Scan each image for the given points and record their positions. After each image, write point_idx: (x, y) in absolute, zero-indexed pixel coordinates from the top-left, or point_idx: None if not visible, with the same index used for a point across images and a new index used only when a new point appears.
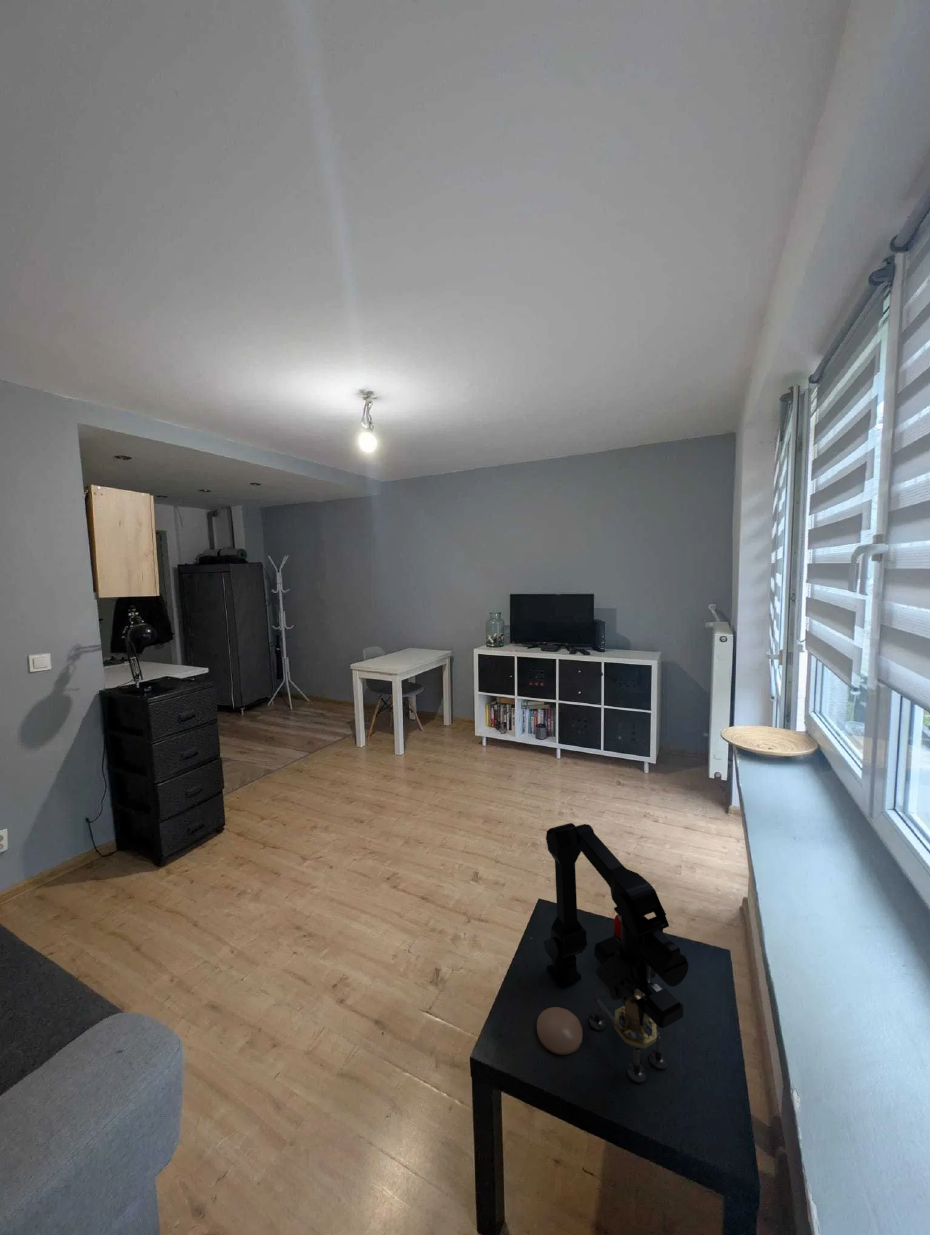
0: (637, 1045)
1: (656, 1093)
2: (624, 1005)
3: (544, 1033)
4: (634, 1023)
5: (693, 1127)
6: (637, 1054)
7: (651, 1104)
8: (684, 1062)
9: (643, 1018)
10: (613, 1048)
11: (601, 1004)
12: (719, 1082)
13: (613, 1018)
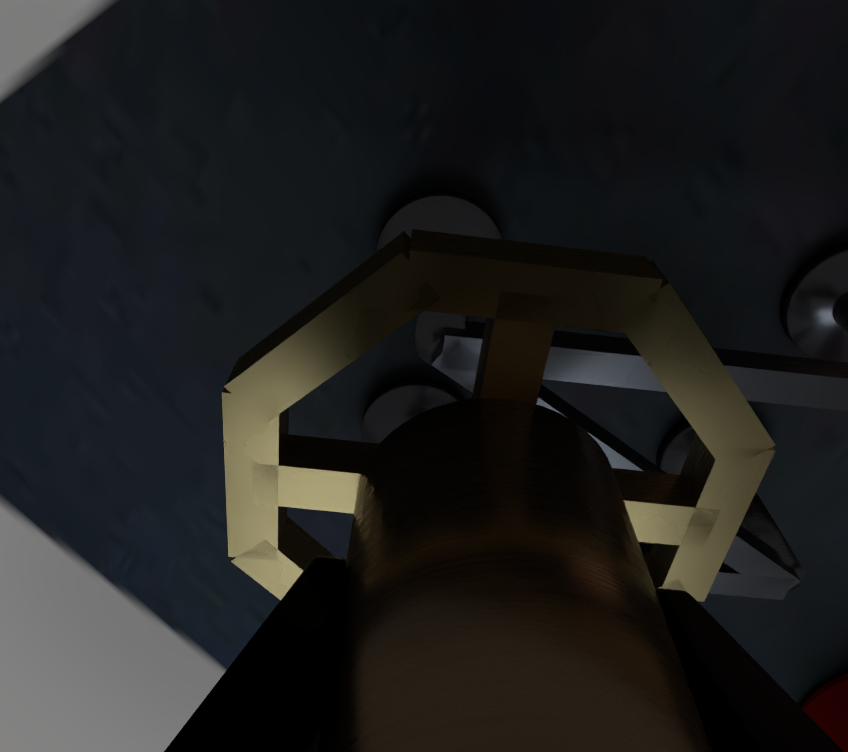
0: (289, 325)
1: (286, 263)
2: (692, 603)
3: None
4: (403, 512)
5: (47, 290)
6: (420, 317)
7: (250, 177)
8: (332, 520)
9: (177, 738)
10: (650, 254)
11: None
12: (179, 566)
13: (754, 387)
